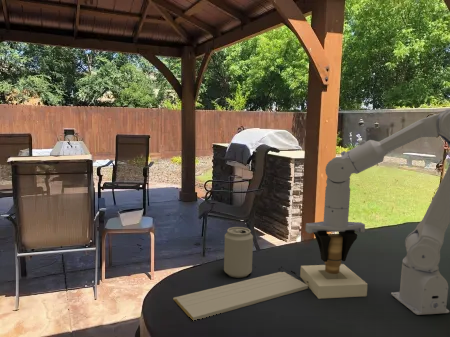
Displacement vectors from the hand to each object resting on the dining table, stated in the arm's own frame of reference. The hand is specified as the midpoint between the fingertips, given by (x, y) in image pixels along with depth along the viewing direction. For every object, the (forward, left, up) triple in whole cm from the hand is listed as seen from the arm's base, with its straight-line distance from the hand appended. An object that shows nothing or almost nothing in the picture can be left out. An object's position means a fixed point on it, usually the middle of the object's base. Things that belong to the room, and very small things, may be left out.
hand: (333, 260), depth 90 cm
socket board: (0, 0, -7) cm, 7 cm away
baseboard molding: (-1, +23, -8) cm, 24 cm away
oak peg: (0, 0, -3) cm, 3 cm away
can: (+10, +22, -7) cm, 25 cm away
